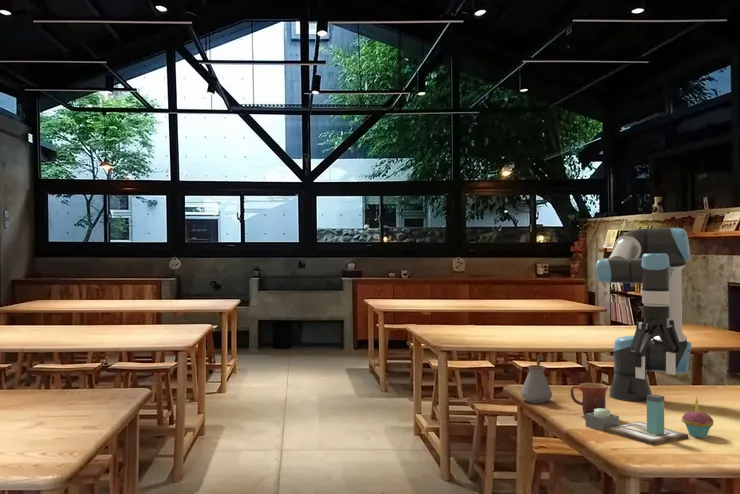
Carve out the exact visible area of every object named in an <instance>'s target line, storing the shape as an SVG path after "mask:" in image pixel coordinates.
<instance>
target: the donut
mask: <svg viewBox="0 0 740 494" xmlns="http://www.w3.org/2000/svg"><path fill="white" fill-rule="evenodd" d="M681 418H682V419H681V422H682V423H684V424H685V426H686V428H687V431H688V436H691V437H695V438H706V437H708V433H709V431H710V429H711V428H712V427H713V425H714V419H713V417H711V416H710V415H709V414H707V413H705V412H702V411H699V399H698V397H697V396H696V397H695V410H693V411H688V412H686V413H684V415H682V416H681Z"/></svg>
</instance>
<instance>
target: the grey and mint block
mask: <svg viewBox="0 0 740 494" xmlns="http://www.w3.org/2000/svg"><path fill="white" fill-rule="evenodd" d="M646 423H647V432H648V433H651V434H655V435H659V434H664V428H665V396H664V395H659V394H656V393H654V394H653V393H652V395H647V401H646Z"/></svg>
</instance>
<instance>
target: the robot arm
mask: <svg viewBox="0 0 740 494" xmlns="http://www.w3.org/2000/svg"><path fill="white" fill-rule="evenodd" d="M690 249H691V248H690V242H689V237H688V233H687V231H686V230H685V229H684V228H680V227H662V228H661V227H659V228H658V227H656V228H637V229H634V230H630V231H627V232H626V233H624V234H621V235H620V236H619V237H618V238H617V239H616V240H615V242H614V243H613V245H612V252H611V254H610V256H609V257H608V259H607V258H603V259H598V260H597V261H596V263H595V278H596V280H597V282H600V283H607V284H610V283H611V284H612V283H613V284H641V303H642V304H643V305H642V306H641V317H642V318H644V322H642V321H637V322H636V327H635V328H636V329H635V331H634V332H635V333H634V335H625V336H620V337H617V338H616V339H614V344H613V345H614V347H613V352H614V353H613V356H614V357H613V359H614V364H613V372H614V373H613V374H614V375H613V378H612V382H611V385H610V387H609V395H608V396H609V397H611V398H613V399H616V400H622V401H633V402H645V401H646V402H647V395H652V394H653V392H652V390H651V387H650V386H651V385H650V383H649V379H648V372H656V373H657V372H659V373H665V374H666V375H673V376H676V374H685V373H687V372H688V369H689V363H690V356H691V349H692V343H691V342H690V341H688V337H687V336H686V334H685V333H683V287H682V286H683V285H682V282H683V281H682V279H683V277H682V276H683V275H682V271H683V269H684V268H685V267H686V266H687V262H688V261H690V260H691V250H690Z"/></svg>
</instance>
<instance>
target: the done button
mask: <svg viewBox="0 0 740 494" xmlns="http://www.w3.org/2000/svg"><path fill="white" fill-rule="evenodd" d="M610 414H611V410H610V409H608V408H606V409H602V408H597V409H594V416H598V417H602V418H605V417H610Z"/></svg>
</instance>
